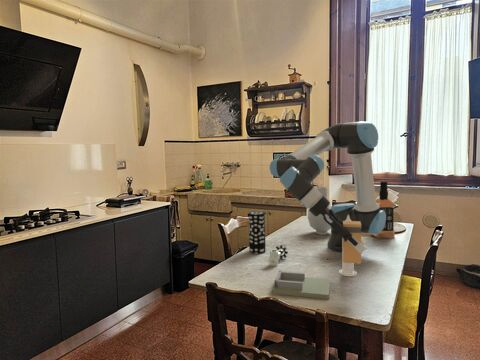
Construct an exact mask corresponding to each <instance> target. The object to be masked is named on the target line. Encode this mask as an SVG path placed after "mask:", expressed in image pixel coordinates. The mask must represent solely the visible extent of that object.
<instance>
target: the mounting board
mask: <svg viewBox="0 0 480 360" xmlns="http://www.w3.org/2000/svg"><path fill="white" fill-rule="evenodd" d="M305 274H306V273H305V272H297V271H284V270H279V271H278V272H277V274H276V276H275V279H274V282H273V283H274V284H273V285H274V286H273V288H272V294H273V295H280V294H281V296H291V295H293V297H302V296H303V297H305V298H314V299H326V300H329V299H330V288H331V279H330V278H324V277H313V276H312V277H310V276H306V275H305ZM303 297H302V298H303Z"/></svg>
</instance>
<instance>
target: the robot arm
mask: <svg viewBox="0 0 480 360" xmlns="http://www.w3.org/2000/svg"><path fill="white" fill-rule="evenodd" d="M378 143H379V133H378V129H377V127H376V125H375V124H374V123H372V122H371V121H352V122H351V121H350V122H342V123H341V122H340V123H336V124H334V125H331V126H329V127H326V128H325V129H324V130H323V129H322V130H321V131H320V132H319V133H317V134H316V136H315V137H314V138H313V139H311V140H310V141H308V142H307V143H305V144H304V145H302V146H300V147H299V148H297V149H295V150H294V151H293V152H291V153H289V154H288V155H286V156H285V157H283V158H275V159H272V161H270V163H269V171H270V174H271V176H273V177H276V178H279V182H280V184H282V186H283V187H284V188H285V189H286V190H287V191H288V192H289V193H290V194H291V195H292V196H294V197H295V198H296V199H297V201H299V203H300V205H301V206H304V207H305V208H306V209H308V210H309V211H310V212H311V213H312V214H313V215H314V216H318V215H319V214H322V216H323V217H324V218H323V219H324V220H325V222H327V223H328V224H329V225H330V226H331V229H330V235H329V238H328V241H327V243H326V244H327V249H328V250H329V251H333V252H335V253H336V252H337V253H342V238H343V239H344V241H345V242H346V241H348V242H349V243H350V244H351V245H352V246H353V247H354V248H355V249H356V250H357V251H358V252H359V253H360V254H361V255H362V253H363V252H364V251H366V250H367V247H366V246H365V245H366V243H365V242H364V241H363V240H362V239H361V243H360V242H359V241H358V240H357V239H356V238H355V237H354V236H353V235H352V234H350V233H349V232H348V231H347V230H346V229H345V228H344V227H343V221H345V220H346V219H347V216H348V215H349V217H350V220H351V221H360V222H361V233H366V234H369V235H370V234H371V235H372V234H379V233H380V232H381V231H382V230H383V228H384V225H385V222H386V213H385V212H384V211H383V210H380V205H379V204H378V203H377V202H376V200H377V199H376V190H375V189H376V188H375V181H374V171H373V160H372V153H373V152H374V151H375V148H376V147H377V146H378ZM334 149H346V153H347V154H348V155H349V156H350V157H351V166H352V175H353V183H354V190H355V198H356V203H339V204H334V205H331V202H330V200H329V199H328V200H327V199H326V198H325V197H324V196H321V195H322V194H321V193H320V192H319V191H318V190H317V189H316V187H315V186H314V185H313V184H312V182H313V181H314V180H315V179H317V177H318V176H320V175H321V173H322V171H323V170H324V168H325V161H324V159H323V158H322V157H321V156H320V155H321V154H323V153H324V152H330V151H331V150H334ZM329 204H330V205H331V206H332V208H331V209H330V210H329V209H328V208H327V207H328V206H329Z"/></svg>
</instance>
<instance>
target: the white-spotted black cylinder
mask: <svg viewBox="0 0 480 360" xmlns="http://www.w3.org/2000/svg"><path fill="white" fill-rule="evenodd" d="M248 241H249V242H248V243H249V246H248V247H249V253H250V254H253V255H258V254H259V255H261V254H264V253H266V251H267V250H266V245H267V244H266V212H264V211H258V210H257V211H249V212H248Z"/></svg>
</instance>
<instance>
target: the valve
mask: <svg viewBox="0 0 480 360" xmlns="http://www.w3.org/2000/svg"><path fill="white" fill-rule="evenodd" d="M288 253H289V251H287V247H286V246H285V247H283V245H282V244H281V245H279V246H278V245H277V246H276V247H275V249H271V250H269V261H270V262H269V264H270V266H272V267H277V266H279V260H280V259H281V260H282V259H284V258H287V255H288Z"/></svg>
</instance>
